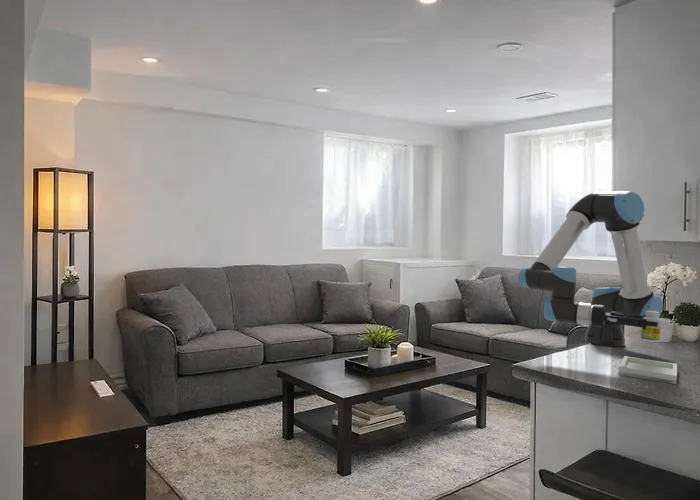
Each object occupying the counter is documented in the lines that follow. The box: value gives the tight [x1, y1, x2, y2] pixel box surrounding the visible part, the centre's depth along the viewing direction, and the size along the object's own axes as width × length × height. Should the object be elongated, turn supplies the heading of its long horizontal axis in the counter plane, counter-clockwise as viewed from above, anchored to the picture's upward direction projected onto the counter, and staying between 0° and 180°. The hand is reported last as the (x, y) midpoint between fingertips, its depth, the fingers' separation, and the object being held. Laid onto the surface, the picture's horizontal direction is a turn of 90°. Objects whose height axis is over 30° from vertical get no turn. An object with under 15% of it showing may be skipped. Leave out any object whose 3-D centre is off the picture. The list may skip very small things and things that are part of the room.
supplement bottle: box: [640, 311, 661, 343], centre depth 185 cm, size 5×5×10 cm
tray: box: [618, 355, 678, 385], centre depth 186 cm, size 20×16×2 cm
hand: (669, 324), depth 183 cm, fingers closed on supplement bottle, 5 cm apart
